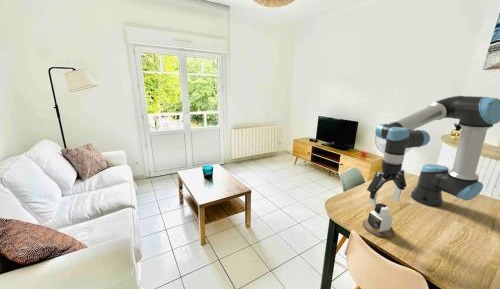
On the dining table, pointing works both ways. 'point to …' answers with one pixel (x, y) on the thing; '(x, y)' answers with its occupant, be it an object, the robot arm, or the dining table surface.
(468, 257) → the dining table surface
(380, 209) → the medicine bottle
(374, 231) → the walnut coaster
